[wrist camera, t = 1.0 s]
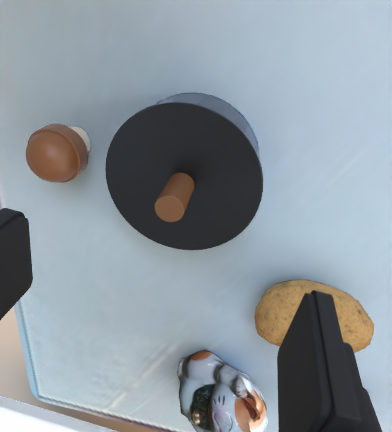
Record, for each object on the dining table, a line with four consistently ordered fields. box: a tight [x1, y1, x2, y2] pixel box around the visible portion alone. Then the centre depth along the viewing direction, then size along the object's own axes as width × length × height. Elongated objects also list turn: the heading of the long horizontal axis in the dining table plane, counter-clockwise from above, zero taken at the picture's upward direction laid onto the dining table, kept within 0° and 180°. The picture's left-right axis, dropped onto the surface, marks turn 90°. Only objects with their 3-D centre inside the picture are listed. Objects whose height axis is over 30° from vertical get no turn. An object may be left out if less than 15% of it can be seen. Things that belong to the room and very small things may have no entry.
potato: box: [255, 280, 374, 353], centre depth 43 cm, size 10×14×8 cm
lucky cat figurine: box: [177, 350, 268, 432], centre depth 53 cm, size 15×12×14 cm
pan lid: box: [106, 101, 263, 250], centre depth 32 cm, size 16×16×6 cm
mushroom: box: [26, 124, 91, 182], centre depth 38 cm, size 6×6×8 cm
